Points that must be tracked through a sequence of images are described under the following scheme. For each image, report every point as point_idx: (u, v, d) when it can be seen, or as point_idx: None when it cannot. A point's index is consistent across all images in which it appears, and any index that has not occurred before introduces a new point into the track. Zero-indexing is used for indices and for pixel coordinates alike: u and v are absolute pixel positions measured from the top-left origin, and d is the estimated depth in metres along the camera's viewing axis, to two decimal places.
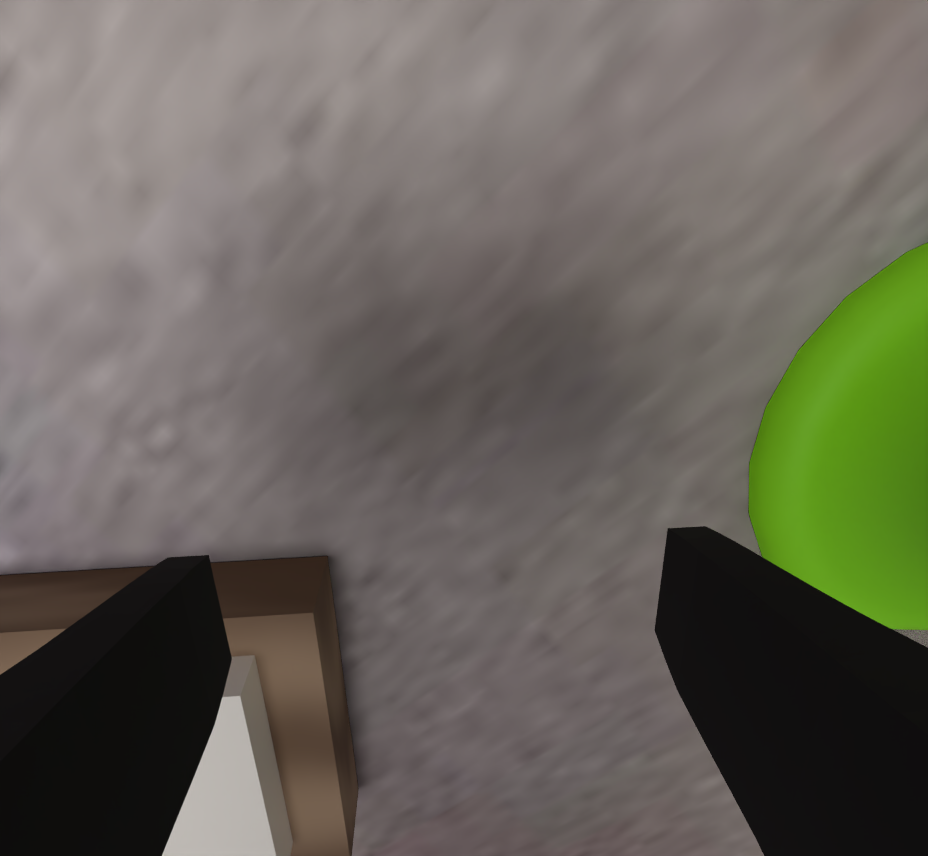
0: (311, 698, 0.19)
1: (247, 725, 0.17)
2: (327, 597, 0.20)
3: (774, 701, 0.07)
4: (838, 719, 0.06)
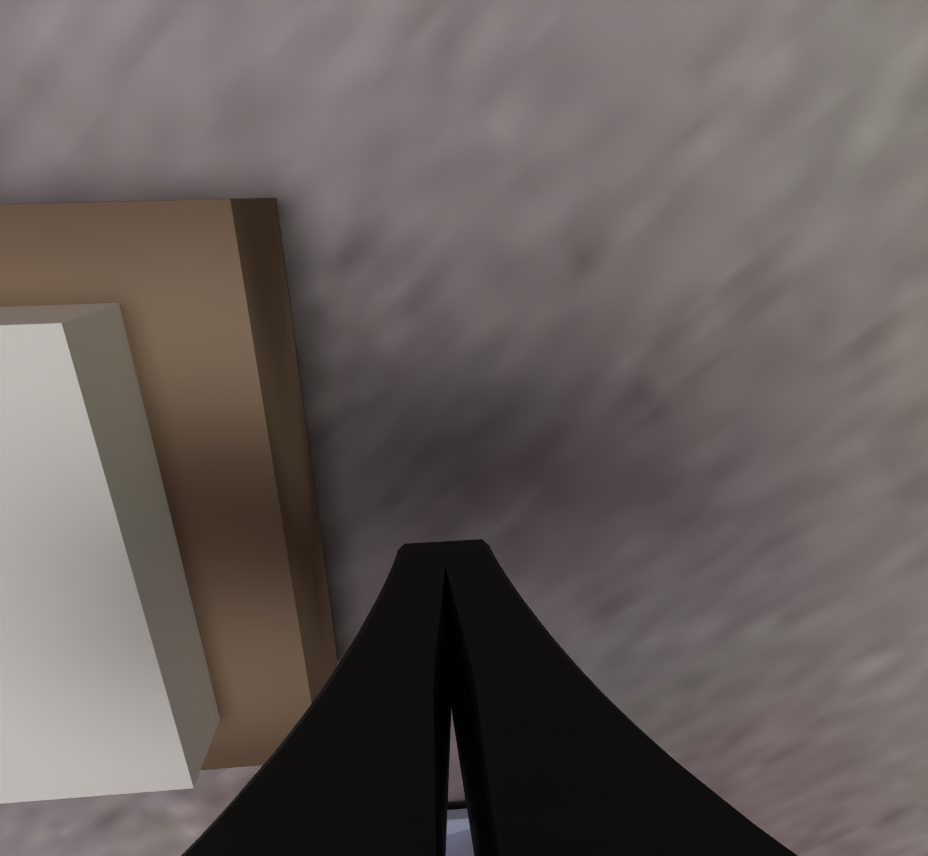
0: (237, 413, 0.10)
1: (87, 407, 0.08)
2: (273, 259, 0.11)
3: (469, 725, 0.06)
4: (478, 747, 0.05)
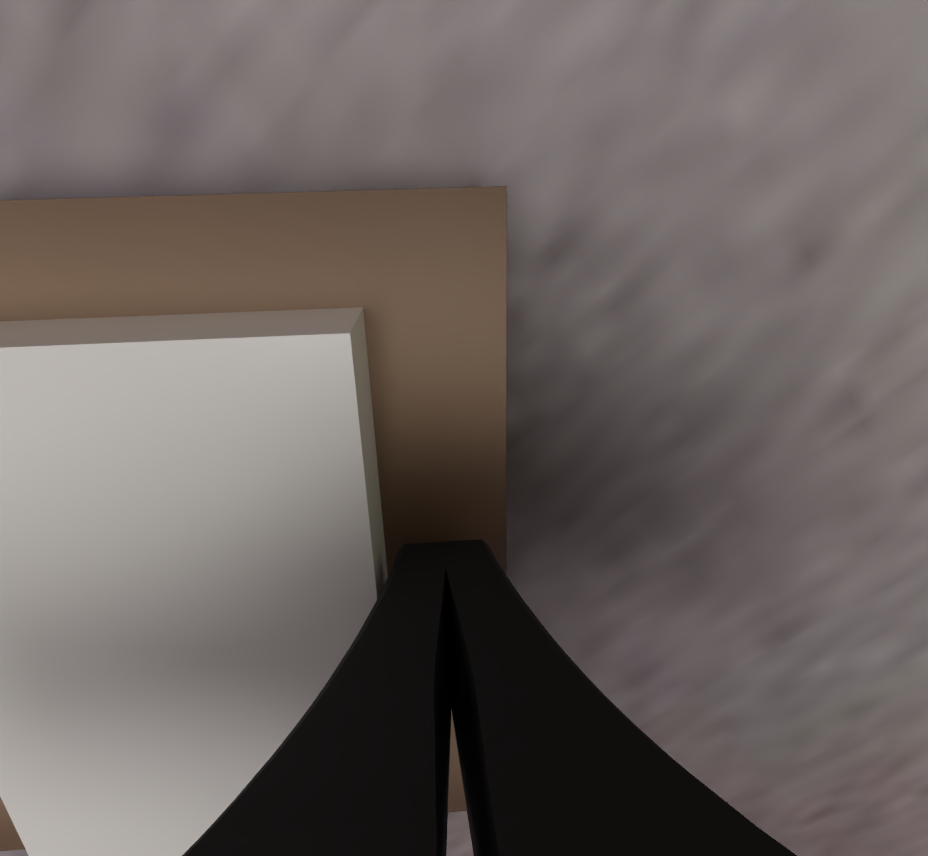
0: (476, 432, 0.09)
1: (360, 431, 0.07)
2: None
3: (469, 725, 0.06)
4: (477, 747, 0.05)
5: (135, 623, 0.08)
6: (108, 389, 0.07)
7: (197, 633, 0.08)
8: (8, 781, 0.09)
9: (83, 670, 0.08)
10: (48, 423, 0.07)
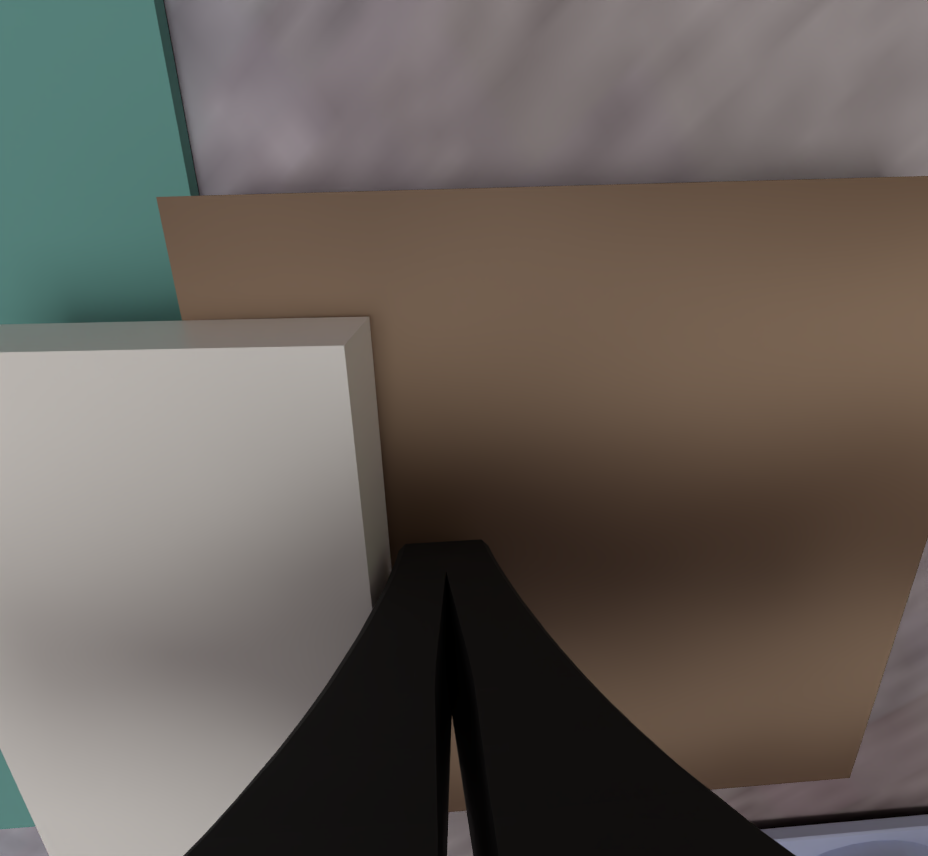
0: None
1: (355, 445, 0.07)
2: None
3: (468, 725, 0.06)
4: (477, 747, 0.05)
5: (136, 624, 0.08)
6: (109, 395, 0.07)
7: (196, 638, 0.08)
8: (22, 765, 0.09)
9: (88, 666, 0.08)
10: (53, 428, 0.07)
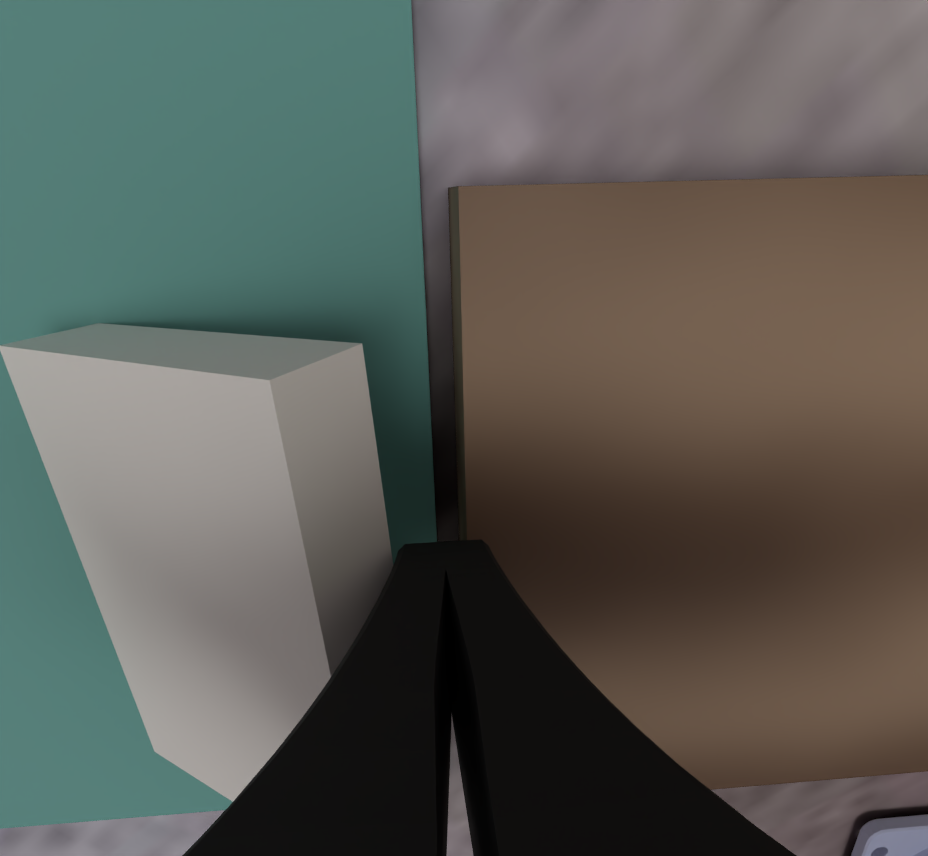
0: None
1: (293, 479, 0.07)
2: None
3: (468, 724, 0.06)
4: (477, 747, 0.05)
5: (171, 590, 0.09)
6: (129, 398, 0.08)
7: (207, 617, 0.09)
8: (128, 671, 0.12)
9: (150, 612, 0.10)
10: (105, 418, 0.08)
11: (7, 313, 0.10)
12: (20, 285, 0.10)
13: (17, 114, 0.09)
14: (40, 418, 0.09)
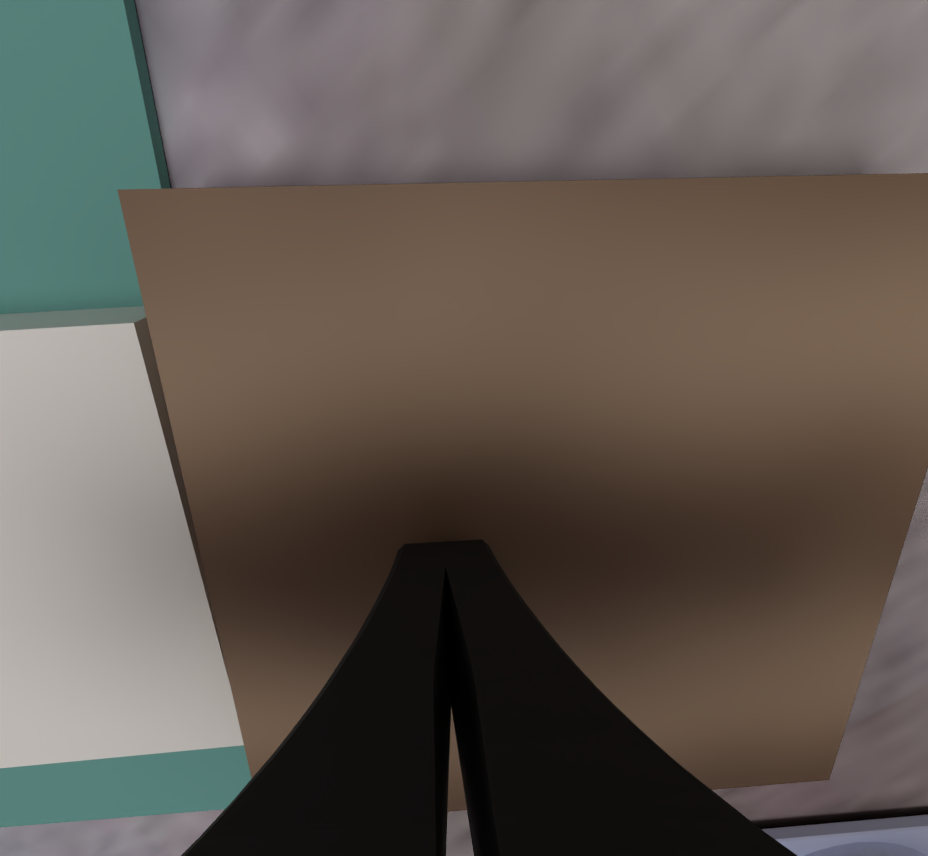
0: (918, 410, 0.09)
1: (155, 398, 0.09)
2: None
3: (469, 725, 0.06)
4: (478, 747, 0.05)
5: None
6: None
7: (50, 560, 0.10)
8: None
9: None
10: None
11: None
12: None
13: None
14: None
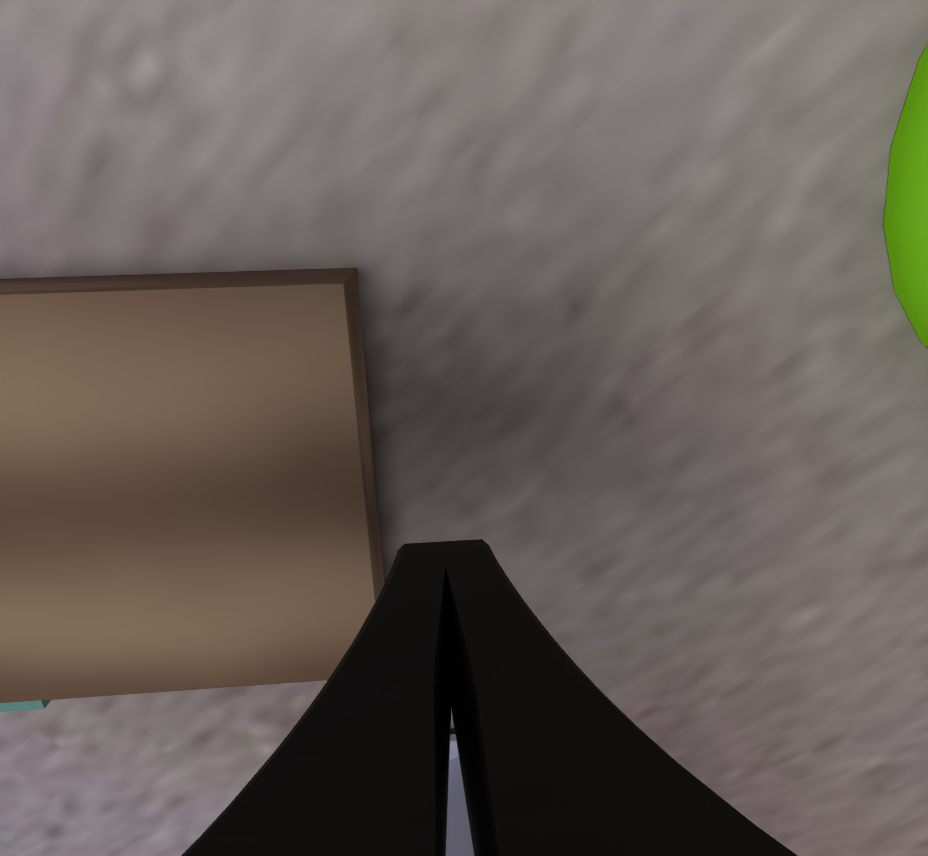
0: (338, 422, 0.15)
1: None
2: (356, 313, 0.16)
3: (469, 725, 0.06)
4: (477, 747, 0.05)
5: None
6: None
7: None
8: None
9: None
10: None
11: None
12: None
13: None
14: None
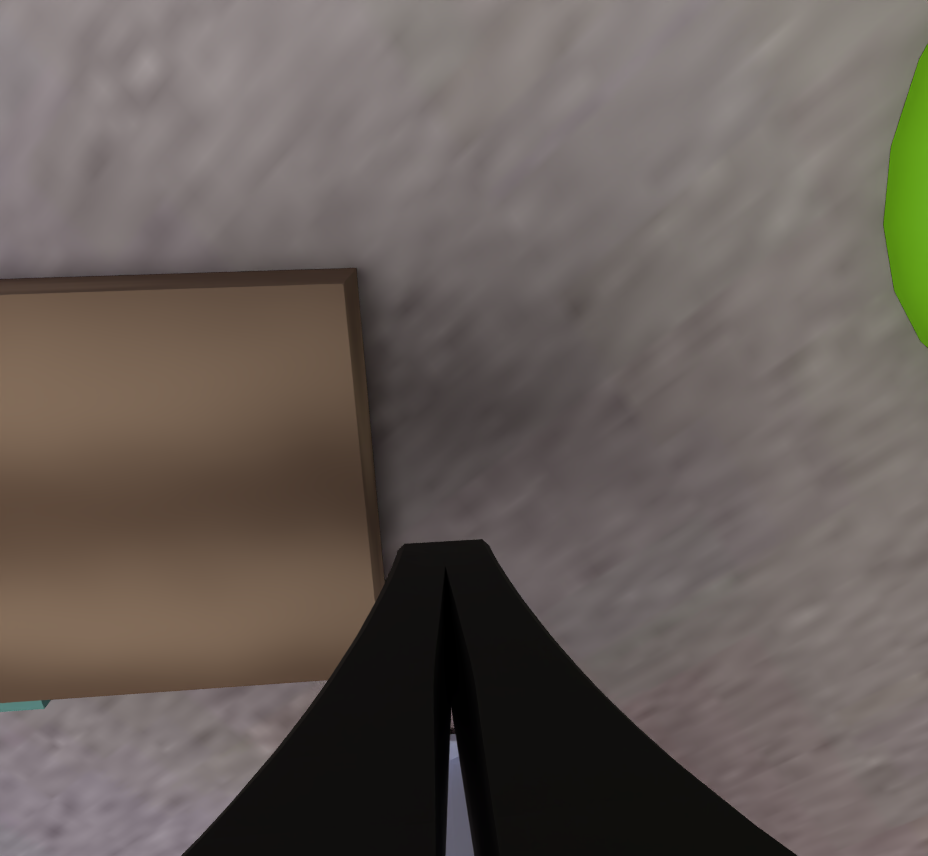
0: (338, 422, 0.15)
1: None
2: (356, 313, 0.16)
3: (469, 725, 0.06)
4: (477, 747, 0.05)
5: None
6: None
7: None
8: None
9: None
10: None
11: None
12: None
13: None
14: None
